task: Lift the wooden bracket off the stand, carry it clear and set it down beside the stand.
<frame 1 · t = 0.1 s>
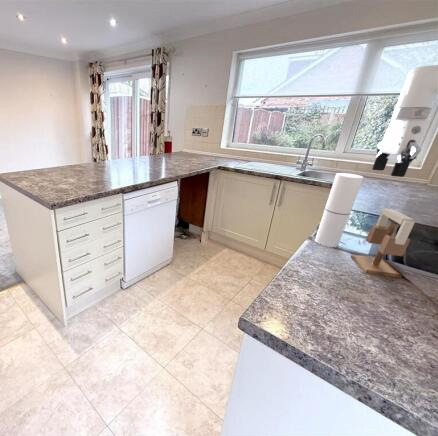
hand: (386, 173, 79), 26 cm above the worktop, tool pointing down, fingers open, 9 cm apart
wooden bracket: (395, 219, 69), point 16 cm above the worktop, touching stand
stand: (374, 267, 76), on the worktop
cylindrical container: (326, 243, 90), on the worktop
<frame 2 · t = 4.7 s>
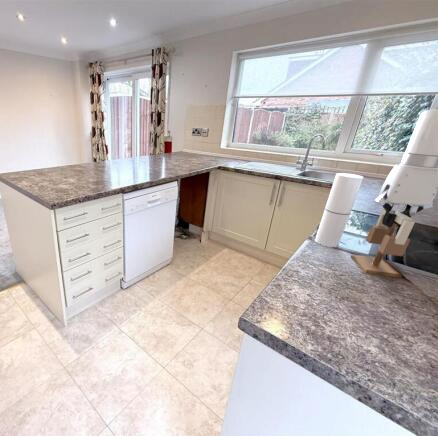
hand: (392, 225, 70), 14 cm above the worktop, tool pointing down, fingers closed on wooden bracket, 2 cm apart
wooden bracket: (395, 219, 69), point 16 cm above the worktop, touching gripper, stand
everything else where it was.
when the fingers open (7 cm above the worktop, at t = 10.8 s): wooden bracket stays where it is, point 9 cm above the worktop.
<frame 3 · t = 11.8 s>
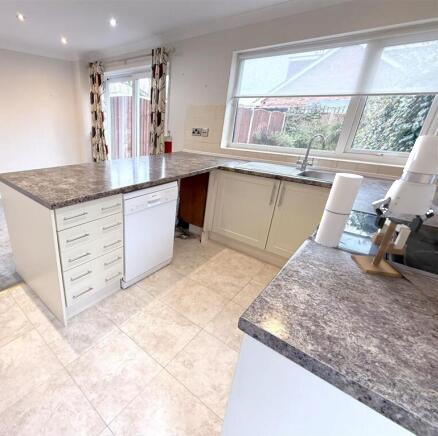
hand: (395, 229, 81), 9 cm above the worktop, tool pointing down, fingers open, 9 cm apart
wooden bracket: (394, 227, 81), point 9 cm above the worktop
everything else where it was.
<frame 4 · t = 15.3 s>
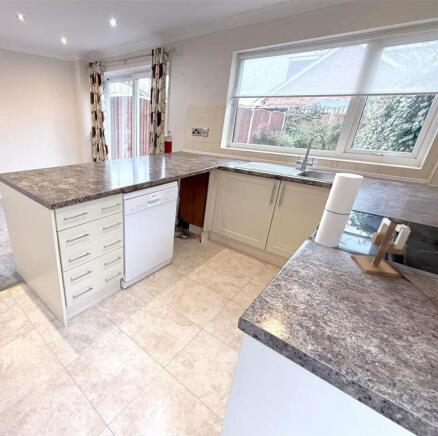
nothing on the worktop moved.
at the end: wooden bracket inside the target area (0.4 cm from its centre), point 9.2 cm above the worktop; wooden bracket touching worktop; the gripper is holding nothing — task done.
